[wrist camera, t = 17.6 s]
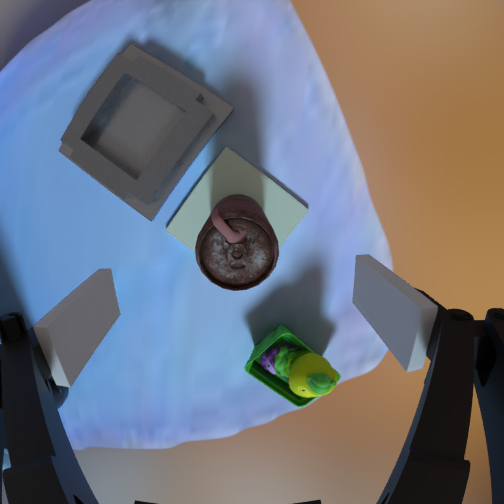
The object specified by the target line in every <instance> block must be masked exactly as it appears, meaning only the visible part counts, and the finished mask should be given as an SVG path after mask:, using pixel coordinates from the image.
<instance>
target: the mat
mask: <svg viewBox="0 0 504 504" xmlns="http://www.w3.org/2000/svg"><path fill="white" fill-rule="evenodd" d="M237 194H241V195H245V196H249V197H250V198H252V199H253V200H255V201H256V202H257V203H258V204H259V205H260V207H261V208H262V210H263V212H264V213H265V215H266V217H267V219H268V221H269V222H270V224H271V226H272V228H273V229H274V232H275V234H276V237H277V240H278V245H279V248H280V247H281V245H282V244H283V243H284V242H285V240H286V239H287V238H288V237H289V235H290V234H291V233H292V232H293V230H294V229H295V228H296V227H297V225H298V224H299V223H300V222H301V220H302V219H303V218H304V217H305V215H306V214H307V213H308V212H309V210H308V209H307V208H306V207H305V206H303V205H302V204H301V203H300V202H299V201H297V200H296V199H295V198H294V197H292V196H291V195H290V194H289V193H287V192H286V191H285V190H283V189H282V188H281V187H280V186H278V185H277V184H276V183H275V182H273V181H272V180H271V179H269V178H268V177H267V176H265V175H264V174H263V173H262V172H260V171H259V170H258V169H256V168H255V167H254V166H252V165H251V164H250V163H248V162H247V161H246V160H244V159H243V158H242V157H240V156H239V155H238V154H236V153H235V152H234V151H232V150H231V149H229V148H228V147H227V146H226V147H225V149H224V150H223V151H222V152H221V154H220V155H219V156H218V158H217V159H216V160H215V162H214V163H213V164H212V166H211V167H210V168H209V170H208V171H207V172H206V174H205V175H204V176H203V178H202V179H201V180H200V182H199V183H198V184H197V186H196V187H195V189H194V190H193V191H192V193H191V194H190V196H189V197H188V198H187V200H186V201H185V203H184V204H183V205H182V207H181V208H180V210H179V211H178V213H177V214H176V216H175V217H174V218H173V220H172V221H171V223H170V224H169V226H168V227H167V229H166V230H165V231H166V232H168V233H169V234H170V235H172V236H173V237H175V238H176V239H177V240H179V241H180V242H182V243H183V244H184V245H186V246H187V247H188V248H190V249H191V250H193V251H194V252H195V246H196V241H197V236H198V234H199V232H200V231H201V229H202V227H203V226H204V224H205V222H206V221H207V219H208V217H209V216H210V214H211V212H212V211H213V209H214V207H215V206H216V204H217V203H218V202H219V201H221V200H222V199H223V198H225V197H227V196H230V195H237Z"/></svg>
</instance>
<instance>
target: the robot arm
mask: <svg viewBox="0 0 504 504" xmlns="http://www.w3.org/2000/svg"><path fill="white" fill-rule="evenodd" d="M352 302H353V304H354V305H355V306H356V307H357V309H358V310H359V311H360V312H361V314H362V315H363V316H364V317H365V319H366V320H367V321H368V322H369V324H370V325H371V326H372V328H373V329H374V330H375V331H376V333H377V334H378V335H379V337H380V338H381V339H382V340H383V342H384V343H385V344H386V346H387V347H388V348H389V350H391V352H392V353H393V355H394V356H395V357H396V359H397V360H398V361H399V363H400V364H401V365H402V367H403V368H404V369H405V371H406V372H410V371H414V370H418V369H421V368H423V364H424V361H425V358H426V356H427V357H428V358H429V359H430V360H431V363H430V366H429V369H428V372H427V375H426V378H425V381H424V388H423V391H422V395H421V398H420V401H419V404H418V407H417V410H416V413H415V416H414V419H413V422H412V425H411V427H410V430H409V433H408V436H407V438H406V441H405V443H404V446H403V448H402V451H401V453H400V456H399V458H398V460H397V462H396V465H395V467H394V469H393V472H392V474H391V476H390V478H389V480H388V482H387V484H386V486H385V488H384V490H383V492H382V494H381V496H380V498H379V500H378V502H377V503H376V504H462V501H463V497H464V493H465V489H466V485H467V481H468V477H469V472H470V462H469V461H468V460H464V454H465V450H466V444H467V438H468V432H469V425H470V417H471V408H472V397H473V384H474V385H475V389H476V393H477V398H478V402H479V406H480V411H481V415H482V420H483V426H484V431H485V436H486V443H487V449H488V457H489V465H490V475H491V487H492V504H504V309H502V308H491V309H489V310H488V311H487V314H486V318H485V320H474V318H473V316H472V315H471V314H470V313H468V312H466V311H464V310H461V309H448V310H447V309H445V308H444V307H443V306H442V305H440V304H439V303H438V302H437V301H434V299H433V298H431V297H430V296H429V295H427V294H426V293H425V292H424V291H421V290H419V289H416V288H414V287H412V286H411V285H410V284H408V283H407V282H406V281H404V280H403V279H401V278H400V277H399V276H398V275H396V274H395V273H394V272H392V271H391V270H390V269H388V268H387V267H385V266H384V265H383V264H381V263H380V262H379V261H377V260H376V259H374V258H373V257H372V256H370V255H369V254H367V255H356V263H355V278H354V290H353V301H352ZM119 316H120V310H119V306H118V301H117V297H116V292H115V287H114V282H113V277H112V272H111V269H98V270H97V271H96V272H95V273H94V274H92V275H91V276H90V277H89V278H88V279H86V280H85V281H84V282H83V283H82V284H80V285H79V286H78V287H77V288H76V289H74V290H73V291H72V292H71V293H70V294H69V295H68V296H66V297H65V298H64V299H63V300H62V301H61V302H59V303H58V304H57V305H56V306H55V307H54V308H53V309H52V310H50V311H49V312H48V313H47V314H46V315H45V316H44V317H43V318H41V319H40V320H39V321H38V322H37V323H36V324H35V325H34V326H33V327H32V328H31V329H30V330H29V331H27V328H26V326H25V323H24V320H23V317H22V314H21V313H19V312H12V313H8V314H5V315H3V316H1V317H0V338H1V341H2V344H0V504H2V473H3V481H4V486H5V490H6V495H7V499H8V503H9V504H99V503H98V501H97V500H96V498H95V496H94V494H93V492H92V490H91V488H90V486H89V484H88V483H87V480H86V478H85V476H84V474H83V472H82V470H81V468H80V466H79V464H78V461H77V459H76V457H75V454H74V452H73V450H72V447H71V445H70V442H69V440H68V437H67V435H66V432H65V429H64V427H63V424H62V421H61V418H60V415H59V412H58V408H60V407H61V406H62V405H63V403H64V401H65V400H66V398H67V396H68V387H71V386H72V385H73V383H74V382H75V380H76V379H77V377H78V375H79V374H80V372H81V371H82V369H83V368H84V366H85V365H86V363H87V362H88V360H89V359H90V357H91V356H92V354H93V353H94V351H95V350H96V348H97V347H98V346H99V344H100V343H101V341H102V340H103V338H104V337H105V335H106V334H107V333H108V331H109V330H110V328H111V327H112V325H113V324H114V323H115V321H116V320H117V318H118V317H119ZM134 504H156V503H148V502H141V501H135V503H134ZM294 504H321V501H320V500H315V501H309V502H302V503H294Z"/></svg>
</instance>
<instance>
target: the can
mask: <svg viewBox="0 0 504 504" xmlns="http://www.w3.org/2000/svg"><path fill="white" fill-rule="evenodd" d="M195 253H196V261H197V263H198V265H199V267H200V269H201V271H202V273H203V274H204V275H205V276H206V277H207V278H208V279H209V280H210V281H211V282H212V283H214V284H216V285H218V286H219V287H221V288H224V289H228V290H233V291H239V290H247V289H250V288H252V287H255V286H257V285H259V284H260V283H262V282H263V281H264V280H265V279H267V278H268V277H269V276H270V274H271V273H272V271H273V270H274V268H275V267H276V263H277V260H278V256H279V245H278V240H277V237H276V234H275V232H274V229H273V228H272V226H271V224H270V222H269V221H268V219H267V217H266V215H265V213H264V212H263V210H262V208H261V207H260V205H259V204H258V203H257V202H256V201H255V200H253V199H252V198H250V197H249V196H245V195H241V194H237V195H230V196H227V197H225V198H223V199H222V200H221V201H219V202H218V203H217V204H216V206H215V207H214V209H213V211H212V212H211V214H210V216H209V217H208V219H207V221H206V222H205V224H204V226H203V227H202V229H201V231H200V232H199V234H198V236H197V241H196V246H195Z"/></svg>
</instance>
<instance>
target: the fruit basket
mask: <svg viewBox="0 0 504 504" xmlns="http://www.w3.org/2000/svg"><path fill="white" fill-rule="evenodd" d="M245 371H246V372H247V373H248V374H250V375H251V376H253V377H254V378H256V379H257V380H258V381H260V382H262V383H263V384H264V385H266V386H267V387H269V388H270V389H271V390H273V391H274V392H276V393H277V394H279V395H280V396H282V397H283V398H285V399H286V400H288V401H289V402H291V403H292V404H294V405H295V406H297V407H303V406H306V405H307V404H309V403H310V402H311V401H313V400H314V399H315V398H317V397H318V396H321V395H326V394H328V393H330V392H331V391H332V390H333V389H334V388H335V386H336V384H337V382H338V381H339V380H340V377H341V376H340V374H339V373H338V372H337V371H336V370H335V369H333V368H332V367H331V365H330V363H329V362H328V361H327V360H326V359H325V358H324V357H322V356H321V355H318V354H317V353H315V352H314V351H313V350H312V349H311V348H310V347H309V346H308V345H306V344H304V343H303V342H302V341H301V340H300V339H299V338H298V337H297V336H296V335H295V334H292V333H291V332H290V331H289V329H287V328H286V327H285V326H284V325H283V324H280V325H279V326H278V327H277V328H276V330H274V331H272V332H271V333H270V334H268V335H267V336H266V337H265V338H264V339H263V340H262V341H261V343H259V344H257V345H256V346H255V347H254V349H253V352H252V354H251V357H250V359H249V360H248V362H247V363H246V365H245Z"/></svg>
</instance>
